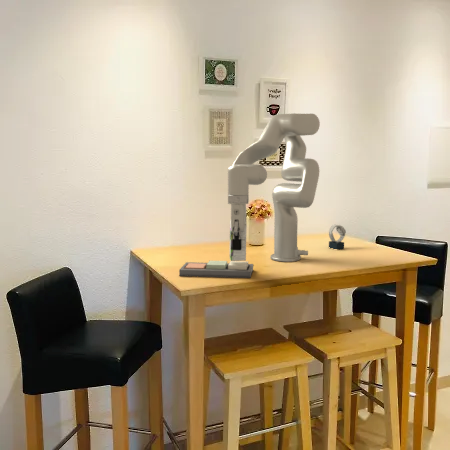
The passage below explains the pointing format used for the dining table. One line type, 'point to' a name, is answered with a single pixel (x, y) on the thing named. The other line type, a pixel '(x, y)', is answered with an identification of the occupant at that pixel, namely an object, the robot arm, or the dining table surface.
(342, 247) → the watch
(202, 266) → the terracotta key
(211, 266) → the sage key
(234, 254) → the syrup box
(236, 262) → the cream key
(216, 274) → the keypad board
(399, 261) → the dining table surface
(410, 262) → the dining table surface
